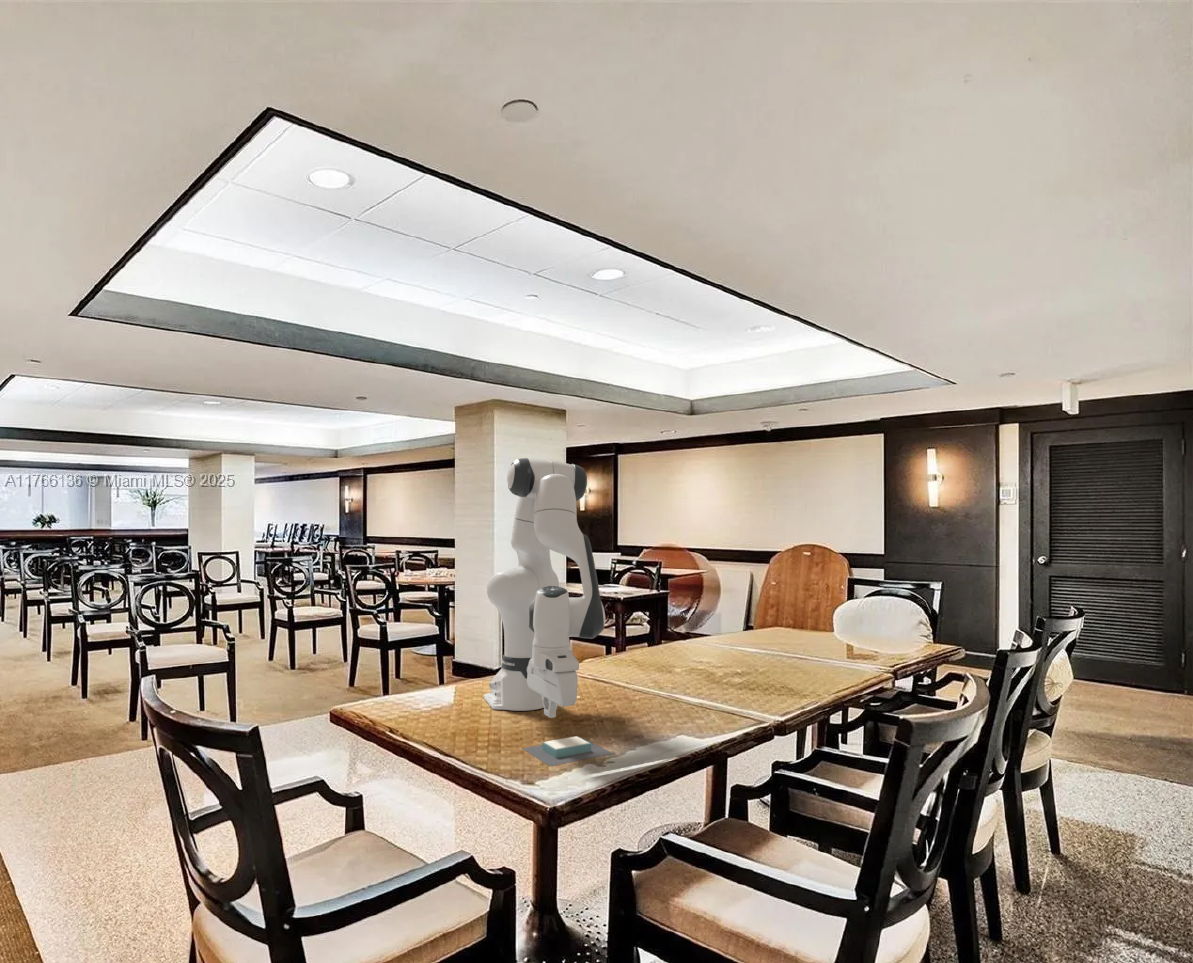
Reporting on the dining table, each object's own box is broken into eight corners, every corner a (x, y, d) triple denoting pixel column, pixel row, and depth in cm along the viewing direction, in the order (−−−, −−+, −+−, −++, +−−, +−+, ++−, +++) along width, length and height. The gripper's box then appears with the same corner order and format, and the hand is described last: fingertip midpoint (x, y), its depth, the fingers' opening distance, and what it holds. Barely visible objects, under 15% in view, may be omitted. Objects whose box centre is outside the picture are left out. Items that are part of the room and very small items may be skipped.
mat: (522, 751, 174) (522, 748, 174) (583, 740, 182) (583, 737, 182) (549, 768, 162) (549, 766, 162) (613, 756, 170) (613, 753, 170)
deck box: (542, 741, 173) (555, 749, 167) (577, 735, 177) (591, 743, 172) (542, 750, 173) (555, 758, 167) (577, 743, 177) (591, 751, 172)
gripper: (521, 649, 186) (520, 706, 185) (557, 666, 168) (556, 729, 167) (544, 647, 189) (543, 703, 188) (582, 664, 171) (581, 726, 170)
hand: (549, 716), depth 178 cm, fingers closed
